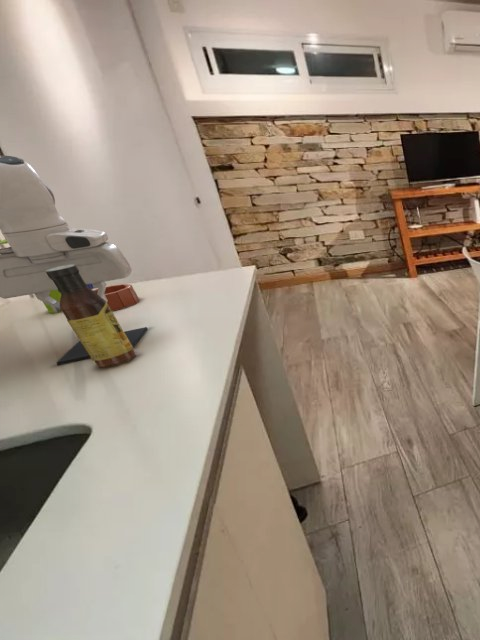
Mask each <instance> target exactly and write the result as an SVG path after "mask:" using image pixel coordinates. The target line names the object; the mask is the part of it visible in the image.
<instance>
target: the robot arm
mask: <svg viewBox="0 0 480 640" xmlns="http://www.w3.org/2000/svg"><path fill="white" fill-rule="evenodd" d="M0 232H1V234H2V236H3V237H4V240H5V239H6V241H7V242H8V243H7V244H8V245H9V246H8V247H1V248H0V298H1V299H12V298H18V297H23V296H28V295H34V296H35V298H36V299H37V300H39V301H40V302H42V303H43V302H44V303H46V304H48V305H50V306H51V308H52V309H53V311H54V312H59V313H62V312H61V309H60V301H59V302H58V301H56V300H54V299H53V298H51V297H50V296H48V295H50V294H51V293H50V292H49V291H53V290H58V288H57V287H56V285H55V284H54V282H53V280H51V279H50V278H49V277H48V275H47V273H46V270H48V269H52V268H55V267H59V266H64V265H72V264H73V265H76V267H77V268H78V270H79V274H80V275H81V277H82V279H83V280H84V282H85V283H86V284H87V285H92V287H93V288H94V289H98V293H97V294H98V295H99V296H100V297H101V298H103V299H104V300H105V301H106V302H108V300H107V298H106V296H105V295H104V293H105V289H106V287H107V282H109V281H110V282H111V281H115V280H121V279H122V280H123V279H125V278H127V277H129V276H130V275H131V273H132V269H133V268H132V267H131V264H130V263H129V261H128V260H127V258H126V256H125V255H124V253H123V252H122V250H121V249H119V247H118V246H116V245H115V244H114V243H111V242H108V240H109V236H108V234H107V233H106V232H105V231H104V230H98V229H86V228H77V227H70V226H69V224H68V223H67V221H66V220H65V219H64V217H62V215H60V214H59V212H58V210H57V208H56V199H55V196H54V193H53V191H52V190H51V188H50V187H49V185H47V184H46V183H45V182H44V181H43V180H42V178H41V176H40V174H38V173H37V172H36V170H35V169H34V168H33V166H31V165H30V164H29V163H28V162H27V161H26V160H24V159H23V158H20V157H17V156H12V155H4V154H3V155H1V154H0ZM44 303H43V304H44Z"/></svg>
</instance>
